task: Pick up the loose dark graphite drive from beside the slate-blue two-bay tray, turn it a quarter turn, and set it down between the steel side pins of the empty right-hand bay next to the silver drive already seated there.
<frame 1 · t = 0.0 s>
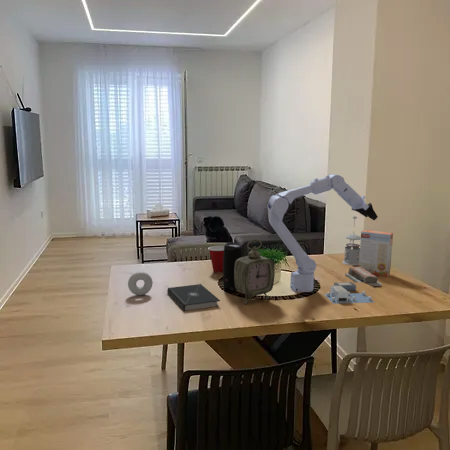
hand: (372, 217, 200), 32 cm above the table, tool tilted 50°, fingers open, 7 cm apart
packaged product: (362, 281, 220), on the table
cracker box: (373, 274, 231), on the table
drive tray: (348, 300, 192), on the table
plastic cup: (218, 271, 231), on the table
tabletop clock: (252, 300, 191), on the table
seated drive: (338, 298, 191), point 1 cm above the table, touching drive tray
loose drive: (344, 292, 202), on the table
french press: (351, 262, 251), on the table
portable speaker: (232, 288, 205), on the table
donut: (140, 295, 195), on the table
book: (192, 301, 190), on the table
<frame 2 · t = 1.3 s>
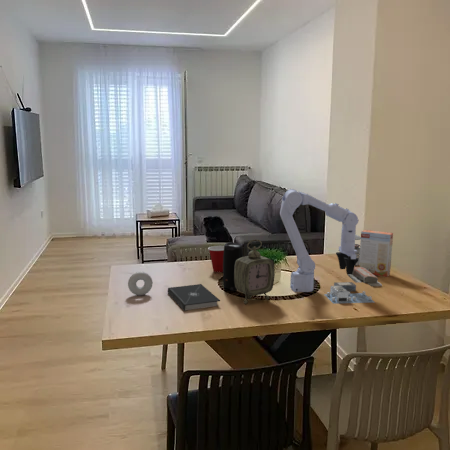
hand: (345, 271, 201), 9 cm above the table, tool pointing down, fingers open, 7 cm apart
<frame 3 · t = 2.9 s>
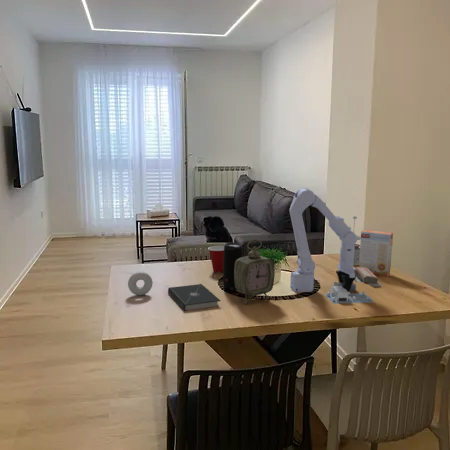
hand: (344, 289, 202), 1 cm above the table, tool pointing down, fingers closed on loose drive, 4 cm apart
loose drive: (344, 292, 202), on the table, touching gripper
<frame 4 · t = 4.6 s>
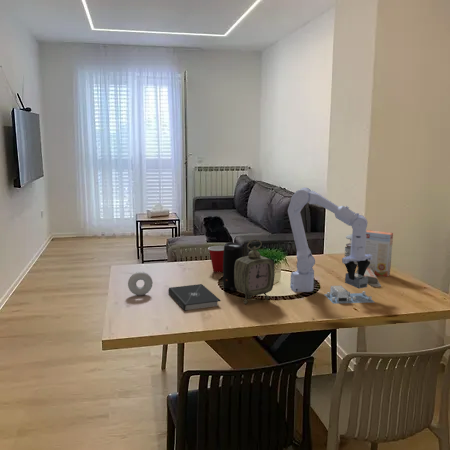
hand: (356, 278, 194), 8 cm above the table, tool pointing down, fingers closed on loose drive, 4 cm apart
loose drive: (355, 284, 194), point 6 cm above the table, touching gripper
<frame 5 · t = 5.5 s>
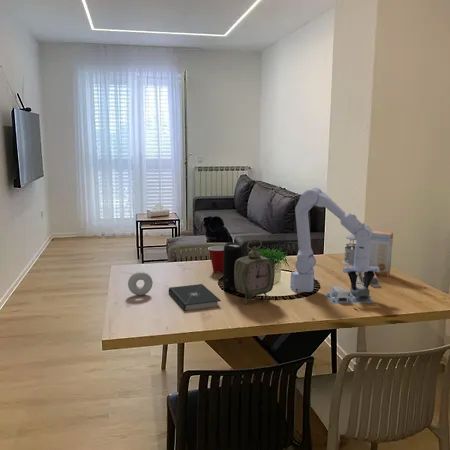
hand: (359, 289, 191), 5 cm above the table, tool pointing down, fingers closed on loose drive, 4 cm apart
loose drive: (359, 296, 192), point 2 cm above the table, touching gripper
when the fingers open (4 cm above the table, at t = 6.2 s): loose drive stays where it is, resting on drive tray.
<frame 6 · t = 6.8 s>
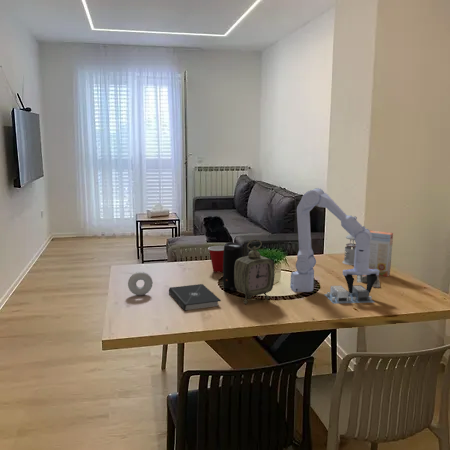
hand: (359, 292, 192), 4 cm above the table, tool pointing down, fingers open, 7 cm apart
loose drive: (359, 297, 192), point 1 cm above the table, touching drive tray
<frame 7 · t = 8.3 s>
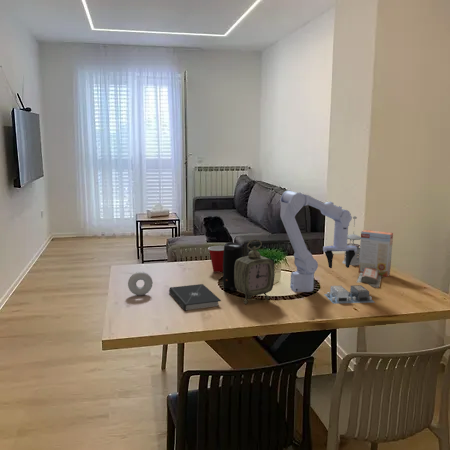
hand: (338, 267, 206), 9 cm above the table, tool pointing down, fingers open, 7 cm apart
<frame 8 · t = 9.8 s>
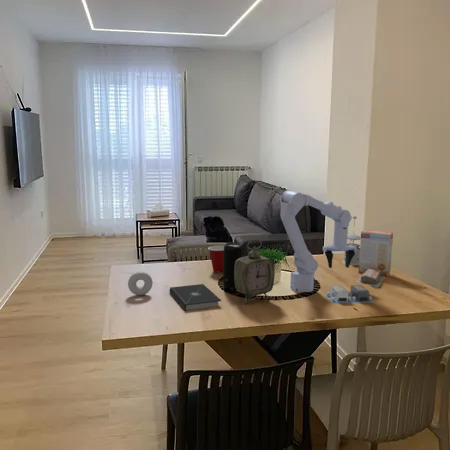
hand: (338, 267, 206), 9 cm above the table, tool pointing down, fingers open, 7 cm apart
at the end: loose drive 0.1 cm from the target spot on the drive tray, point 1.2 cm above the drive tray's base; loose drive tilted 0°; the gripper is holding nothing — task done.
